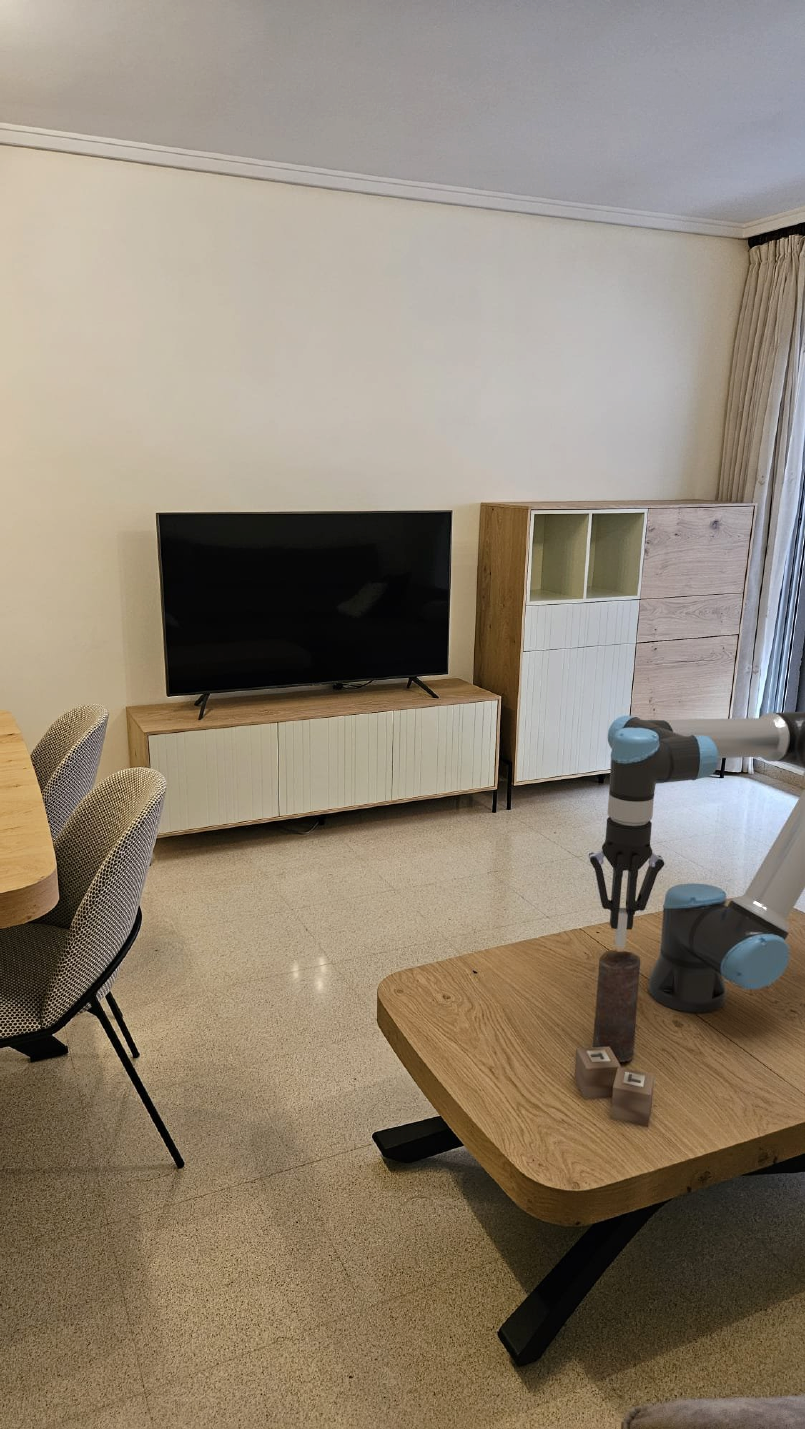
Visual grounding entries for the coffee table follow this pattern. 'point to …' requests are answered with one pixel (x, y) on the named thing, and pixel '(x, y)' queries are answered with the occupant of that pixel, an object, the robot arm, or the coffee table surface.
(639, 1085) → the block seven
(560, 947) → the coffee table surface
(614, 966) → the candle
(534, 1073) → the coffee table surface
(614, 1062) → the block two
